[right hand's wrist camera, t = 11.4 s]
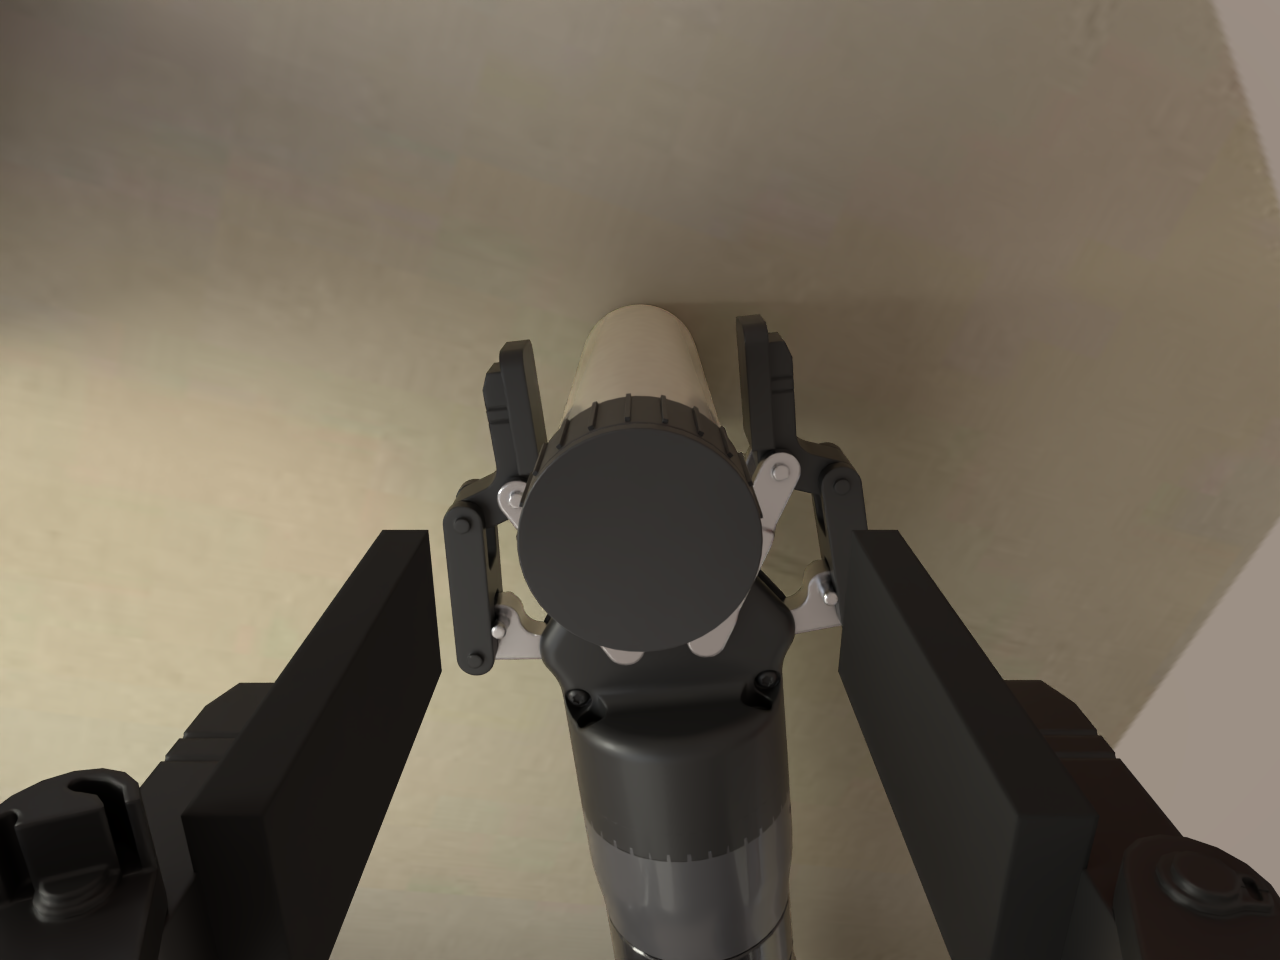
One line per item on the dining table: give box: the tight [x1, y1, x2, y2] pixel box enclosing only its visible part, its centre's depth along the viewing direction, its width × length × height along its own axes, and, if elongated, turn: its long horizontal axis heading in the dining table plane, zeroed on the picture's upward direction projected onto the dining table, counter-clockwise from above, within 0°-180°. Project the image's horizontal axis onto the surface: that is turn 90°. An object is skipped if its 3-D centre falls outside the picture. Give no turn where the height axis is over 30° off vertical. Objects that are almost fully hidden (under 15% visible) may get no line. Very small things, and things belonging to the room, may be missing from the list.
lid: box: [516, 393, 763, 652], centre depth 18 cm, size 5×5×2 cm
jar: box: [558, 304, 721, 430], centre depth 24 cm, size 4×4×16 cm
